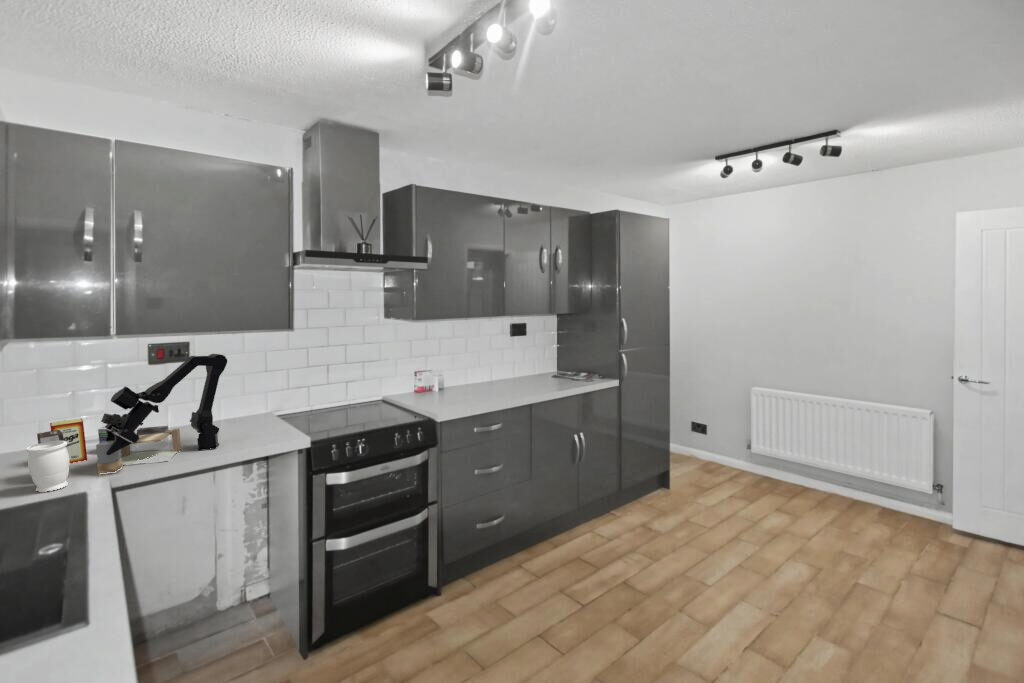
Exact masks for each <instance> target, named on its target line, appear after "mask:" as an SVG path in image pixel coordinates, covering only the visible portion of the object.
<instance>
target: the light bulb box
mask: <svg viewBox="0 0 1024 683" xmlns="http://www.w3.org/2000/svg"><path fill="white" fill-rule="evenodd" d="M105 430H108V429H107V428H105V426H102V427H100V428H99V427H98V429H97V433H98V441H99V442H98V444H99V443H100V442H102V441H104V440H105V438H106V436H107V434H106V431H105ZM134 432H135V434H136V433H137V430H135V431H134ZM119 436H120V435H119ZM136 448H137V449H138V444H130V451H131V452H133V451H135V450H137V449H136ZM134 449H135V450H134ZM132 450H133V451H132ZM120 453H121V449H120Z"/></svg>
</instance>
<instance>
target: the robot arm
mask: <svg viewBox="0 0 1024 683" xmlns="http://www.w3.org/2000/svg"><path fill="white" fill-rule="evenodd" d="M227 364H228V358H227V357H226V356H225V355H224V354H219V353H210V354H209V355H190V356H189V357H188V358H187V359H186V360H185V361H184V362H183V363H181V364H180V365H179V366H178V367H176V369H174V370H173V371H172V372H171V373H170V374H168V375H167V376H166V377H165V378H164V379H162V380H160V381H158V382H156V383H154V384H153V385H151V386H150V387H148V388H147V389H145V391H141V392H138V393H137V392H135V391H133V390H132V389H131V388H130V387H128V386H124V387H123V388H120V389H119V390H118V391H117V392H115V393H114V394H113V395H112V397H111V398H110V402H111V403H113V404H115V405H117V406H118V407H120V408H122V409H123V410H129V409H130V410H129V411H128V412H127V413H124V414H122V415H120V414H119V413H113V414H110V413H103V415H102V418H101V421H100V423H103V424H106V425H104V427H105V428H107V429H108V430H105V431H106V434H107V436H106V438H105V440H104V441H110V440H115V441H114V442H113V444H112V445H111V446H110V448H109V449H108V451H107V453H106V454H107V455H110V454H112V453H114V452H116V451H118V450H120V449H122V448H124V447H126V446H128V445H130V444H132V443H131V441H132V442H133V443H136V442H137V441H138V440H139V436H138V435H137V434H135V432H134V431H137V429H139V426H141V427H142V426H143V425H144V420H146V419H147V417H148V416H149V415H150V414H151V413H152V412H154V413H159V412H160V410H159V405H157V404H161V403H163V402H164V401H166V399H167V398H168V397H169V396H170V394H171V392H172V390H173V389H174V388H175V386H176V385H177V384H179V383H180V382H182V380H183V379H185V377H187V376H188V374H190V373H191V372H192V371H194V370H195V369H196V368H197V367H200V366H202V367H205V371H206V378H205V381H204V385H203V390H202V395H201V398H200V403H199V406H198V409H197V410H196V412H194V411H192V412H191V418H190V420H189V423H190V426H191V427H192V429H193V430H195V431H196V433H197V435H198V436H197V439H196V442H197V448H198V451H203V450H202V449H208V450H211V449H210V448H216V447H217V446H218V445H219V444H221V443H220V442H219V439H218V438H219V437H218V435H219V431H220V428H219V427H218V426H216V425H215V424H213V420H214V416H213V410H212V409H213V405H214V401H215V395H216V392H217V389H218V384H219V380H220V376H221V375H222V374H223V372H224V371H225V370H226V366H227ZM141 400H142V401H141ZM143 401H144V402H143ZM152 403H153V404H152ZM119 435H120V436H119ZM219 446H220V445H219ZM219 446H218V447H219ZM218 447H217V448H218ZM217 448H216V449H217Z"/></svg>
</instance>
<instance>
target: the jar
mask: <svg viewBox="0 0 1024 683" xmlns="http://www.w3.org/2000/svg"><path fill="white" fill-rule="evenodd" d="M66 445H67V441H51V442H44V443H39V444H38V443H37V444H32V445H30V446H28V447H26V450H25V452H26V453H28V456H27V468H28V471H29V473H30V476H31V480H32V482H33V483H34V484H35V486H36V488H35V492H36V491H39V492H38V493H48V492H47V491H50V492H54V491H53V490H55V491H58V490H61V489H63V487H64V488H65V486H66V487H67V486H68V485H69V482H68V481H67V479H68V477H69V471H70V470H69V469H70V464H69V454H68V451H67V449H66ZM60 488H61V489H60ZM57 489H58V490H57Z"/></svg>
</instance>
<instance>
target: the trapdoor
mask: <svg viewBox="0 0 1024 683" xmlns="http://www.w3.org/2000/svg"><path fill="white" fill-rule="evenodd" d="M171 430H172V429H169V426H168V425H163V426H162V425H161V426H160V425H159V426H149V427H138V428H137V429H136V434H137V435H138V436H139V440H138V441H137V442H136V443H133V442H132V441H131V443H132V444H137V445H138V444H146V443H160V442H162V441H164V440H165V439H166V438H168V436H169V437H170V432H171Z"/></svg>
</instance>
